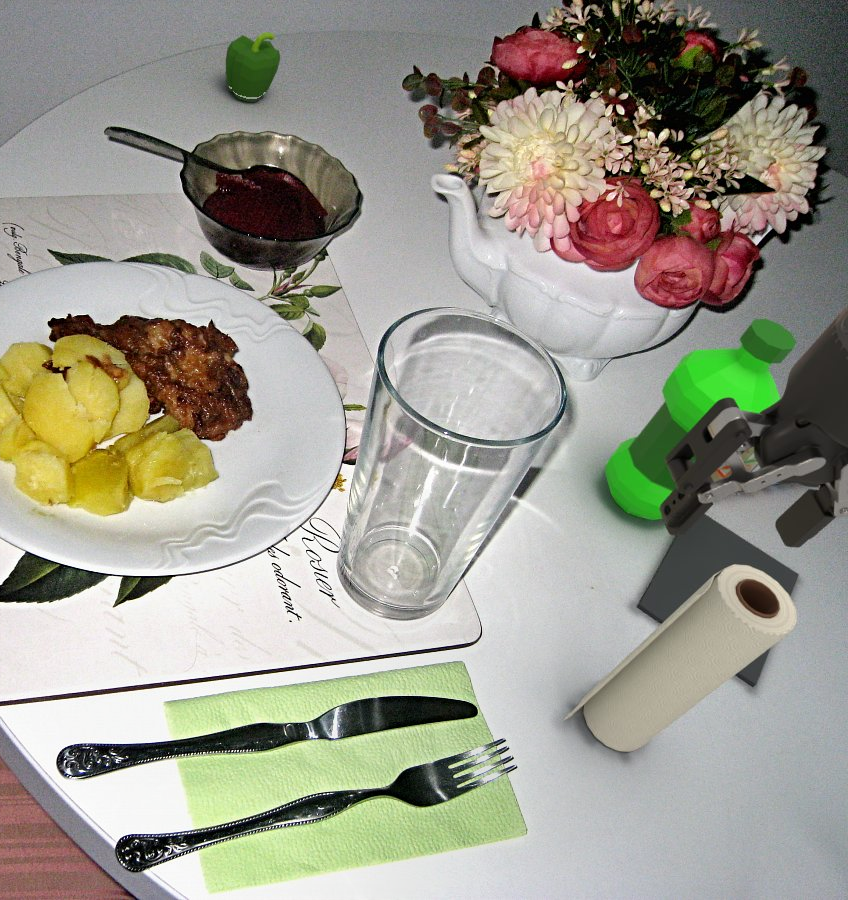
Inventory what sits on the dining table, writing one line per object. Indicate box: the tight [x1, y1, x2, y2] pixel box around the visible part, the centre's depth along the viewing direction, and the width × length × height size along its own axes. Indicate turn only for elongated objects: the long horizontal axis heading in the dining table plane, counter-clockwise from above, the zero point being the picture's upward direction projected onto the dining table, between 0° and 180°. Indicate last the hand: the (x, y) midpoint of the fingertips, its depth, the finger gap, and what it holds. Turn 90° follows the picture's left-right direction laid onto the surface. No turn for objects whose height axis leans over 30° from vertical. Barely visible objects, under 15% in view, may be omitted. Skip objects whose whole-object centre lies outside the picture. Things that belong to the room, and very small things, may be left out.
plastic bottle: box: [604, 318, 798, 521], centre depth 92 cm, size 10×10×25 cm
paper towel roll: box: [562, 564, 798, 753], centre depth 73 cm, size 7×6×21 cm
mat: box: [637, 513, 800, 688], centre depth 94 cm, size 13×18×1 cm
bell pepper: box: [225, 32, 281, 103], centre depth 140 cm, size 8×8×10 cm
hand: (728, 530), depth 59 cm, fingers open, 8 cm apart
